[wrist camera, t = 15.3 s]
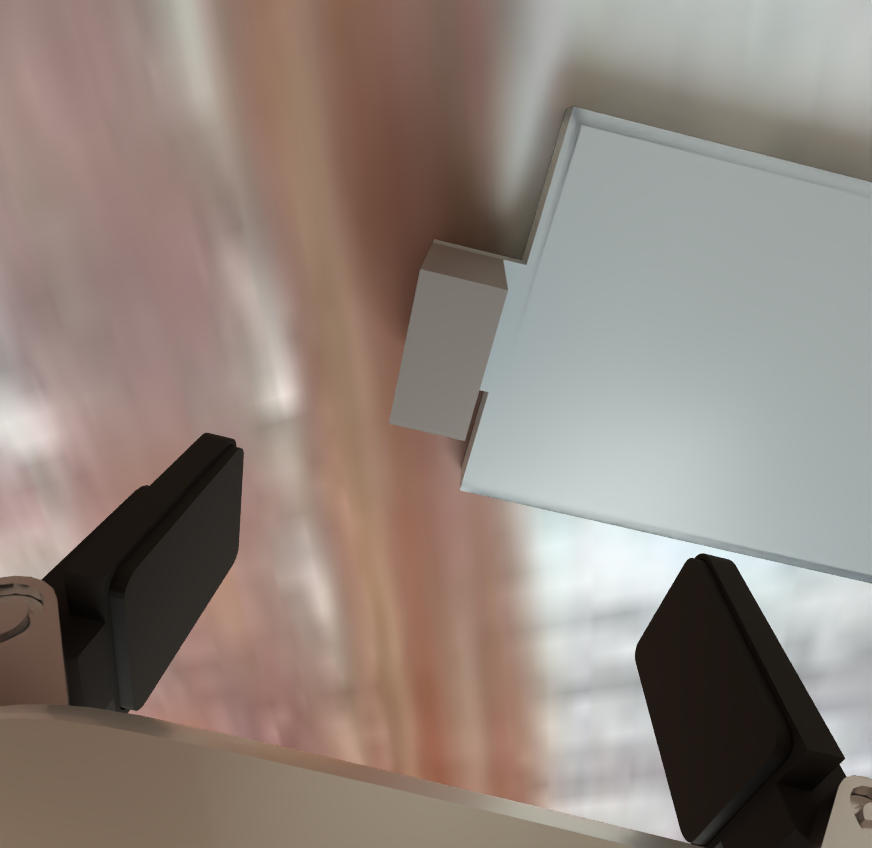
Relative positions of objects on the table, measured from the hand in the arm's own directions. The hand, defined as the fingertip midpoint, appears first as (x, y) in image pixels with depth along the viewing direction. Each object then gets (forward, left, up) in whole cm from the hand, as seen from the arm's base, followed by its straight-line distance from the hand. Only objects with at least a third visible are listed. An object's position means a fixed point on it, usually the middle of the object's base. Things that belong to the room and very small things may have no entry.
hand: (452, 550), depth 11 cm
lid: (0, -11, -16) cm, 20 cm away
